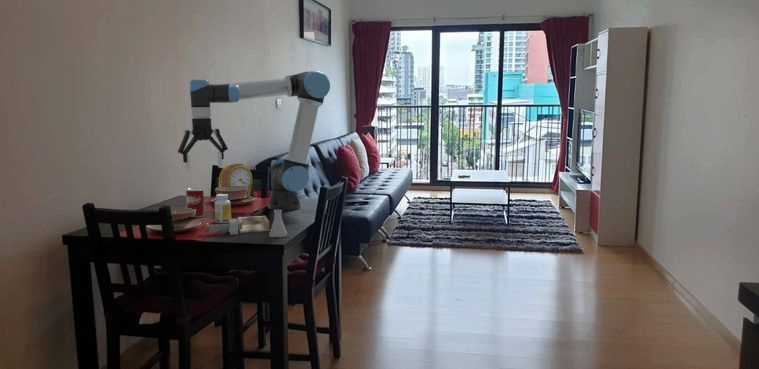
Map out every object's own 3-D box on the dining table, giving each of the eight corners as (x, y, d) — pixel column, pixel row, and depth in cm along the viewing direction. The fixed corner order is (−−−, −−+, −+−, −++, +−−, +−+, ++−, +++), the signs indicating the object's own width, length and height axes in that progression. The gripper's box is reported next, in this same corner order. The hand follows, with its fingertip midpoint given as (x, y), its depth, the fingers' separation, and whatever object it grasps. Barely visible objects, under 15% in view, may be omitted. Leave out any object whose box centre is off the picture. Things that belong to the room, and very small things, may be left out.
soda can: (199, 218, 242) (198, 191, 240) (184, 217, 243) (182, 190, 241) (207, 215, 249) (206, 188, 247) (192, 214, 250) (191, 187, 248)
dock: (265, 223, 233) (265, 215, 233) (269, 230, 221) (269, 222, 221) (237, 225, 230) (237, 217, 229) (239, 232, 218) (239, 224, 217)
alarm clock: (228, 201, 280) (227, 165, 277) (219, 199, 285) (218, 163, 282) (253, 197, 290) (252, 162, 288) (244, 195, 296) (243, 161, 293)
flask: (269, 233, 217) (269, 208, 216) (288, 233, 218) (288, 208, 216) (267, 238, 210) (267, 212, 208) (287, 238, 211) (286, 212, 209)
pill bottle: (234, 220, 238) (233, 193, 236) (225, 224, 232) (224, 196, 230) (221, 219, 240) (220, 192, 238) (212, 222, 234) (211, 195, 232)
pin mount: (237, 230, 221) (236, 218, 221) (238, 234, 216) (237, 222, 215) (229, 231, 220) (228, 219, 220) (230, 234, 215) (229, 222, 214)
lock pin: (239, 229, 220) (239, 220, 220) (240, 231, 217) (240, 222, 216) (204, 231, 216) (204, 222, 216) (204, 233, 213) (204, 224, 212)
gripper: (227, 116, 240) (229, 165, 244) (167, 118, 225) (171, 170, 229) (233, 116, 234) (236, 167, 238) (173, 119, 220) (177, 172, 223)
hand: (204, 168), depth 234 cm, fingers open, 13 cm apart
